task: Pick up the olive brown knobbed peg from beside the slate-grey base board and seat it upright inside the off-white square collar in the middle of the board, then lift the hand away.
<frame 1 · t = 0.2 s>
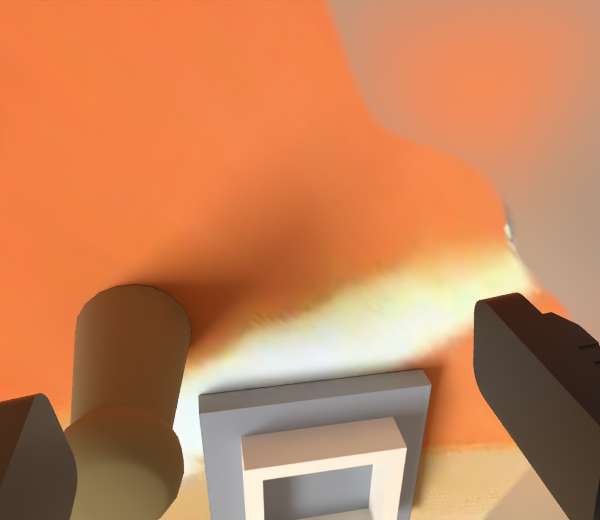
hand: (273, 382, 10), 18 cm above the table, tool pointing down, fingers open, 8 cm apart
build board: (312, 461, 37), on the table
olive brown knobbed peg: (134, 330, 30), on the table
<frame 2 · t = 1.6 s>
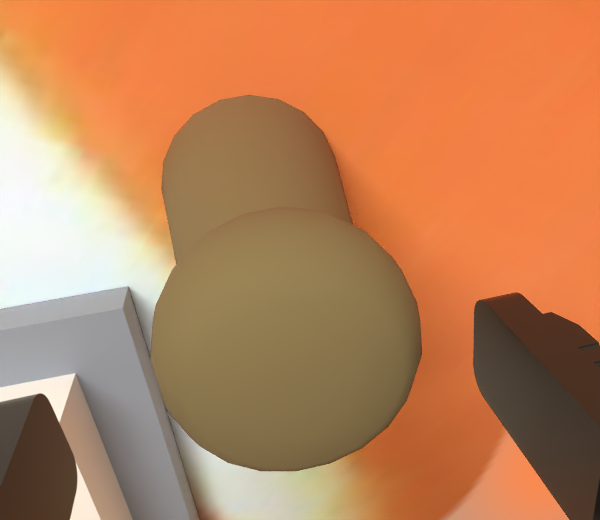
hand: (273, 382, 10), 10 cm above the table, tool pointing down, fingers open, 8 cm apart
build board: (0, 463, 23), on the table
olive brown knobbed peg: (251, 183, 19), on the table
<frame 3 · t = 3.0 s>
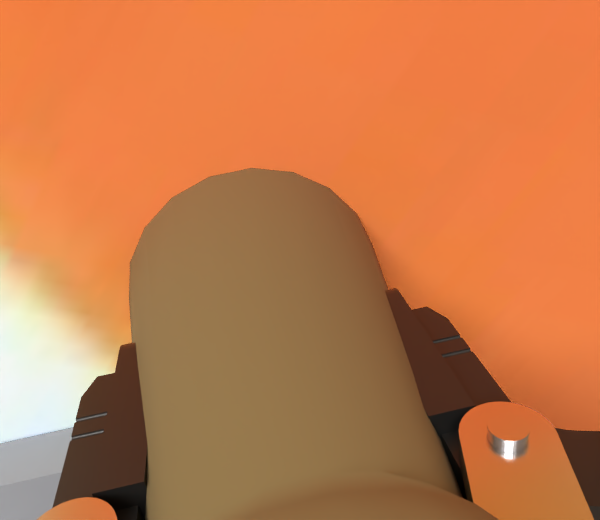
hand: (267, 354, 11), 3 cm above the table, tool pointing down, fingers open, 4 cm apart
olive brown knobbed peg: (255, 283, 14), on the table, touching gripper
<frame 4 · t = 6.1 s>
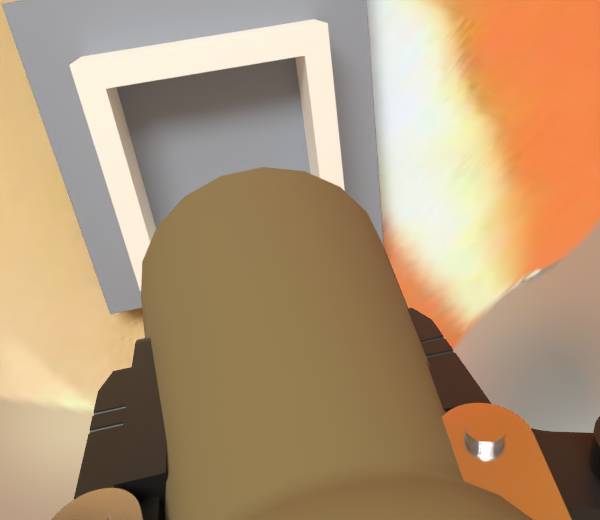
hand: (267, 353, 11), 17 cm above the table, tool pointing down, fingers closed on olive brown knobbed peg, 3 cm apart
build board: (221, 142, 26), on the table
olive brown knobbed peg: (266, 282, 14), point 14 cm above the table, touching gripper
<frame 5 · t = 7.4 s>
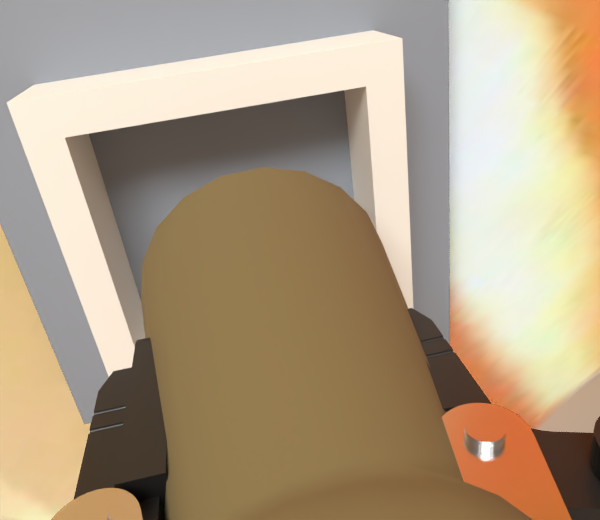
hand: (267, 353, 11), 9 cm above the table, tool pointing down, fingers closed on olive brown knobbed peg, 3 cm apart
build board: (235, 196, 19), on the table
olive brown knobbed peg: (266, 282, 14), point 6 cm above the table, touching gripper
when the fingers open (6 cm above the table, at t = 8.8 s): olive brown knobbed peg drops 1 cm, resting on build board.
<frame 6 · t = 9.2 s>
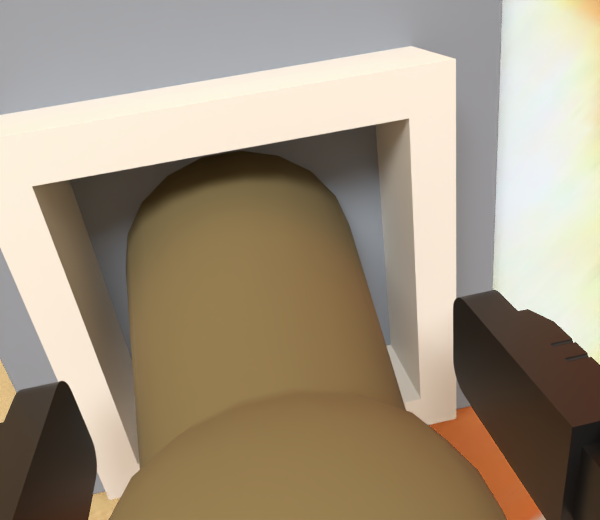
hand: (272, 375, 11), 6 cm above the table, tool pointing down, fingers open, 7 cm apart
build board: (243, 238, 16), on the table
olive brown knobbed peg: (242, 258, 15), point 1 cm above the table, touching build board
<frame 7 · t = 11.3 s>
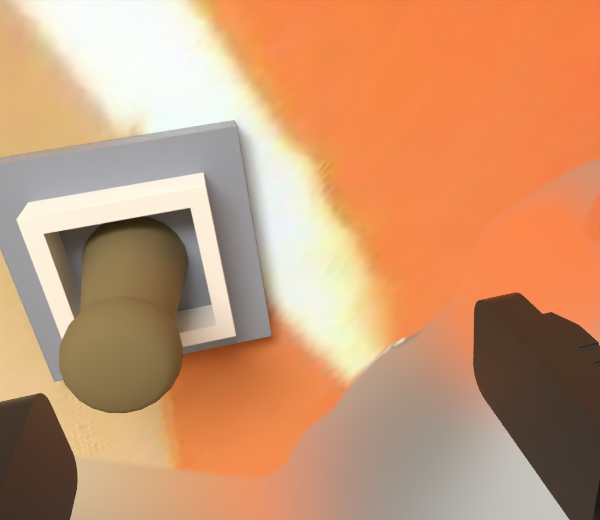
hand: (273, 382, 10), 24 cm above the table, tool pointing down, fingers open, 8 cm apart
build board: (140, 252, 34), on the table
olive brown knobbed peg: (136, 261, 33), point 1 cm above the table, touching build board
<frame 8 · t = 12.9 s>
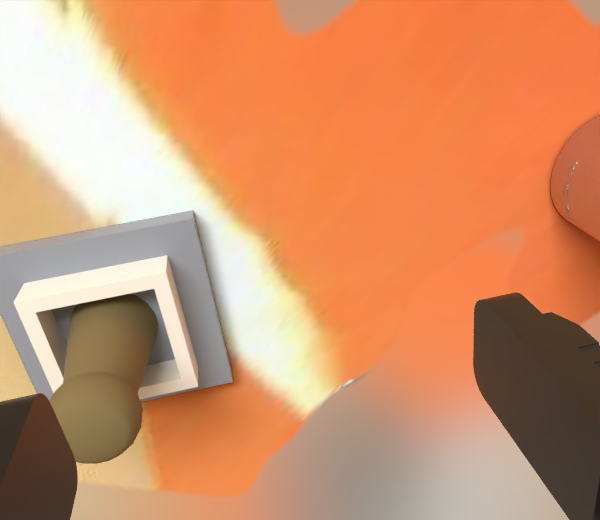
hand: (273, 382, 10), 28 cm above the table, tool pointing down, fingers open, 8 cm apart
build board: (119, 315, 41), on the table
olive brown knobbed peg: (114, 325, 40), point 1 cm above the table, touching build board
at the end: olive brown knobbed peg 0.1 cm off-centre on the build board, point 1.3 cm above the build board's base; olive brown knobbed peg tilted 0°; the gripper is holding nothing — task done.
